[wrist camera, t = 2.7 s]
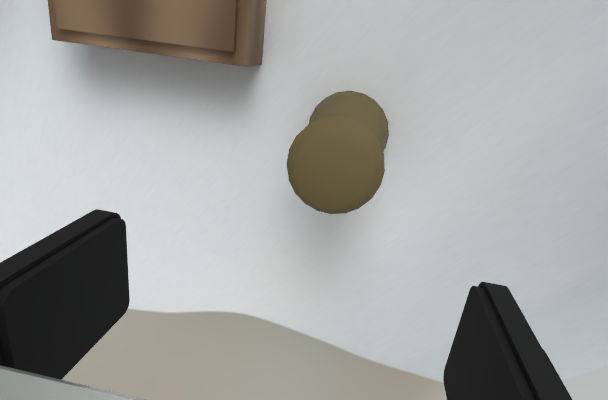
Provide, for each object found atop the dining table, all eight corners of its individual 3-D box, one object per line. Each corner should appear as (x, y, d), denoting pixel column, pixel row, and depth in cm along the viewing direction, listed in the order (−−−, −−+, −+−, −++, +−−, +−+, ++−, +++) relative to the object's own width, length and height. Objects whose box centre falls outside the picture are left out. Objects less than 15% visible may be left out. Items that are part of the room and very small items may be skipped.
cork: (335, 184, 32) (315, 249, 21) (292, 120, 30) (249, 156, 20) (404, 144, 30) (417, 195, 19) (361, 73, 28) (351, 88, 18)
